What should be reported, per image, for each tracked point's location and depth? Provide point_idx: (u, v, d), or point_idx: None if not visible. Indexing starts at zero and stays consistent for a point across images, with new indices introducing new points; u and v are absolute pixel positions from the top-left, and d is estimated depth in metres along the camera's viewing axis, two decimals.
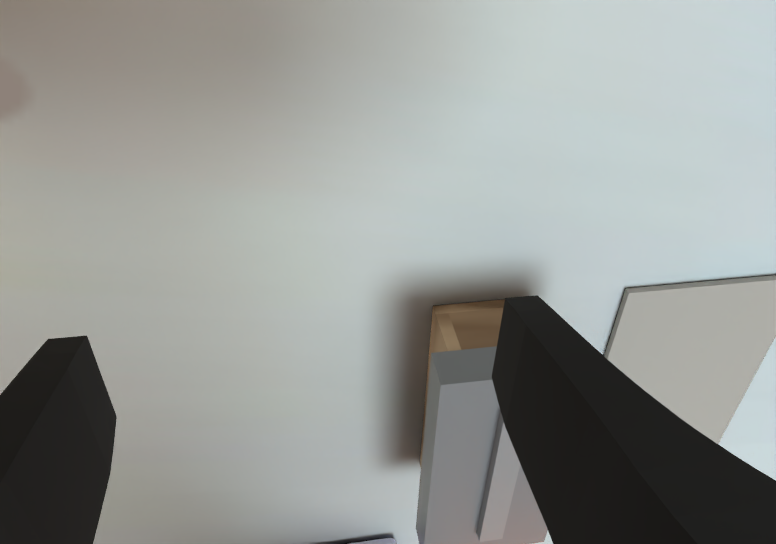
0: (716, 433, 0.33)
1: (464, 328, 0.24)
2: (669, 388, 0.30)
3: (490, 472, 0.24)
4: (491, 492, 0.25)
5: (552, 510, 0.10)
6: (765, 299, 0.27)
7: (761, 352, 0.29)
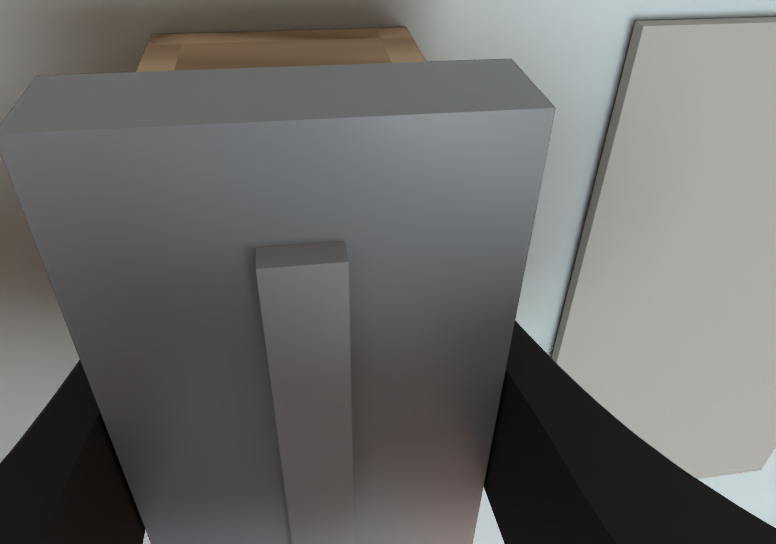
0: None
1: (204, 64, 0.09)
2: (720, 292, 0.15)
3: (281, 453, 0.09)
4: (293, 504, 0.10)
5: (505, 517, 0.10)
6: None
7: None
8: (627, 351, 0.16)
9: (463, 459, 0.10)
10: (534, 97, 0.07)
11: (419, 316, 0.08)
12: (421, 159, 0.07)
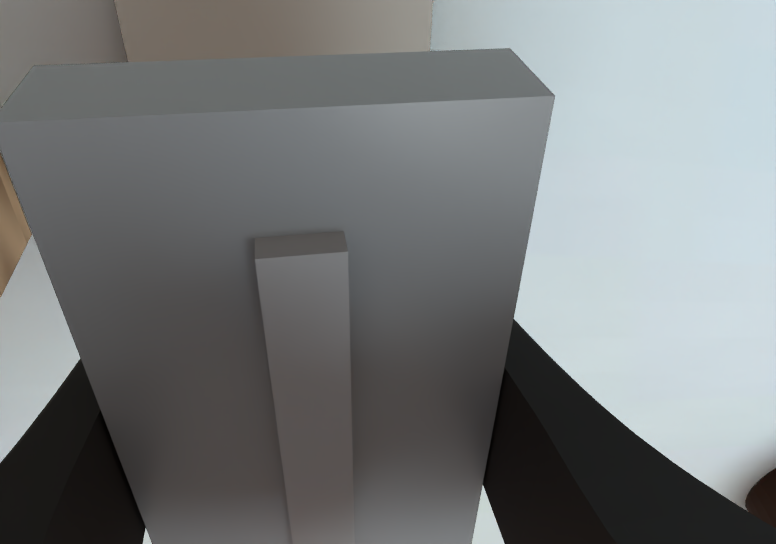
0: None
1: None
2: None
3: (280, 446, 0.09)
4: (292, 498, 0.10)
5: (505, 517, 0.10)
6: None
7: (419, 38, 0.17)
8: None
9: (463, 452, 0.10)
10: (532, 86, 0.07)
11: (418, 306, 0.08)
12: (420, 148, 0.07)
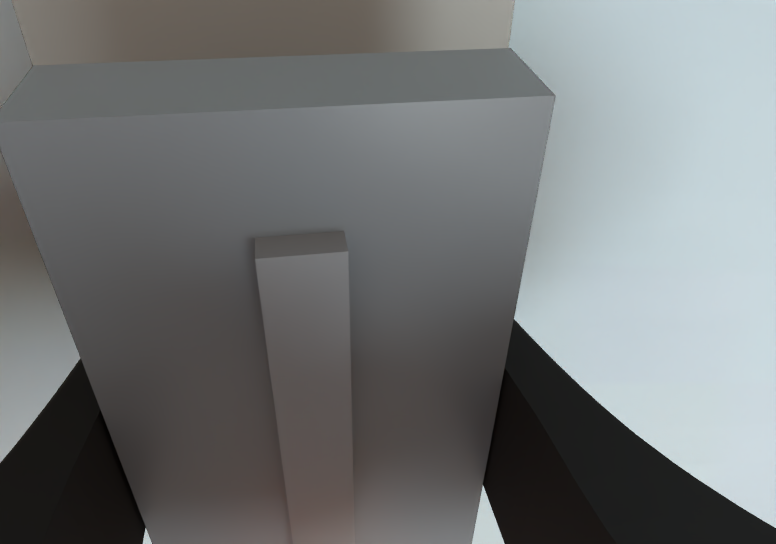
0: None
1: None
2: None
3: (281, 446, 0.09)
4: (293, 498, 0.10)
5: (505, 517, 0.10)
6: None
7: None
8: None
9: (463, 452, 0.10)
10: (533, 85, 0.07)
11: (418, 306, 0.08)
12: (421, 147, 0.07)
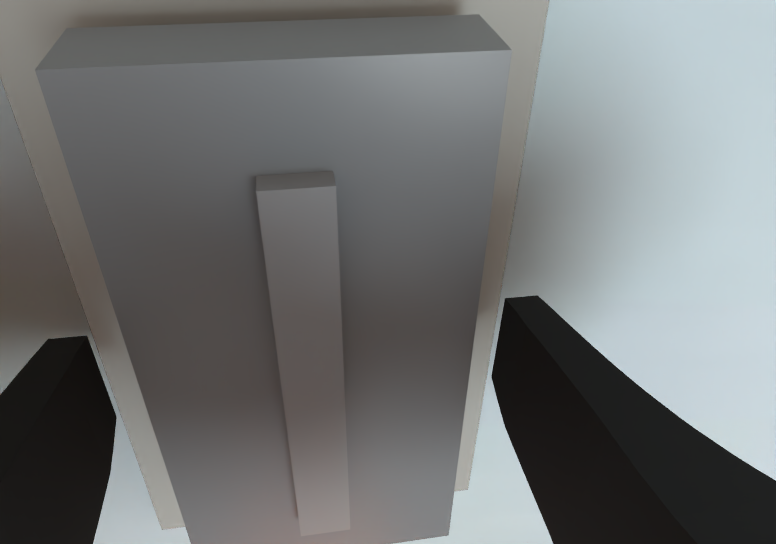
0: None
1: None
2: None
3: (280, 371, 0.10)
4: (291, 421, 0.11)
5: (552, 510, 0.10)
6: None
7: (504, 176, 0.11)
8: None
9: (445, 385, 0.11)
10: (494, 42, 0.08)
11: (399, 242, 0.09)
12: (397, 95, 0.08)
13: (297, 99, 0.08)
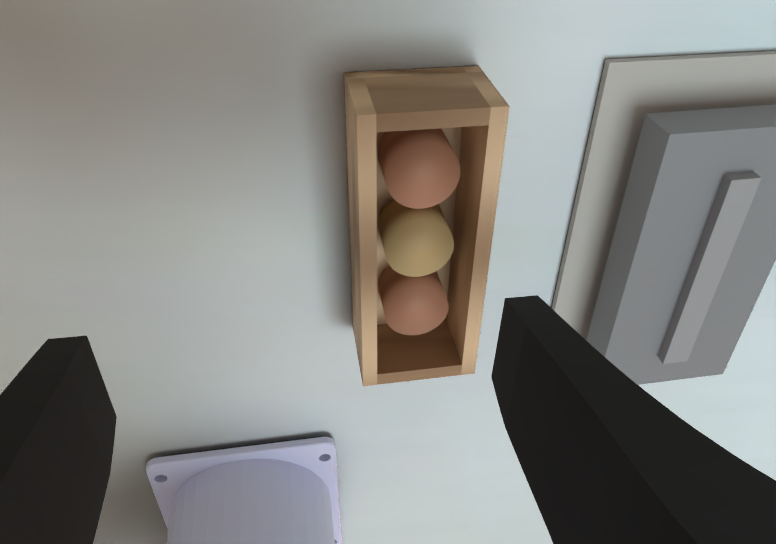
0: None
1: (382, 89, 0.17)
2: None
3: (694, 266, 0.22)
4: (692, 292, 0.22)
5: (552, 510, 0.10)
6: None
7: None
8: None
9: (757, 277, 0.23)
10: None
11: (766, 203, 0.21)
12: None
13: (753, 143, 0.19)
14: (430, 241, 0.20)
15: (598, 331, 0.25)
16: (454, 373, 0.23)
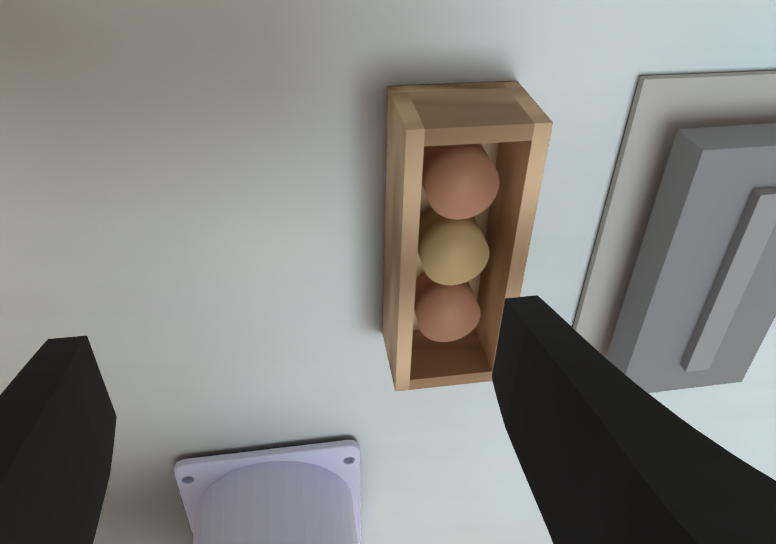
0: None
1: (427, 104, 0.18)
2: None
3: (720, 277, 0.22)
4: (717, 302, 0.23)
5: (552, 510, 0.10)
6: None
7: None
8: None
9: None
10: None
11: None
12: None
13: None
14: (466, 251, 0.20)
15: (622, 339, 0.25)
16: (484, 379, 0.23)
